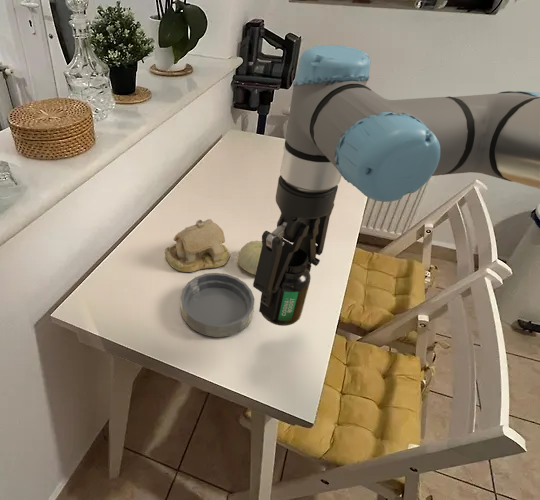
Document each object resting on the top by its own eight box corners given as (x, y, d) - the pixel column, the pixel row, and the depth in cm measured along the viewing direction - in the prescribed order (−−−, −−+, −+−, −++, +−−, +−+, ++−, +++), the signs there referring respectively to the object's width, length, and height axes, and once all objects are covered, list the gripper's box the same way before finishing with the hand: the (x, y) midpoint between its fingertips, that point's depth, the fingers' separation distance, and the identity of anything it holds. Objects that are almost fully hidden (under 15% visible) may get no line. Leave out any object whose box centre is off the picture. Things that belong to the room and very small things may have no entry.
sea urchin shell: (226, 260, 94) (244, 228, 94) (240, 266, 101) (256, 237, 101) (261, 280, 90) (280, 246, 89) (272, 285, 96) (290, 254, 96)
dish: (266, 323, 83) (268, 310, 81) (201, 349, 78) (202, 336, 76) (229, 277, 93) (230, 265, 91) (169, 297, 88) (169, 285, 86)
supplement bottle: (292, 333, 67) (306, 277, 60) (252, 316, 70) (261, 260, 62) (306, 306, 72) (321, 251, 64) (269, 291, 74) (279, 236, 67)
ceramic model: (211, 234, 104) (213, 199, 98) (237, 261, 97) (241, 225, 91) (159, 252, 99) (157, 217, 92) (183, 282, 92) (183, 246, 85)
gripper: (326, 145, 62) (298, 264, 77) (234, 194, 52) (223, 321, 66) (374, 164, 58) (335, 286, 73) (285, 221, 48) (260, 350, 62)
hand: (281, 302), depth 70 cm, fingers closed on supplement bottle, 7 cm apart
